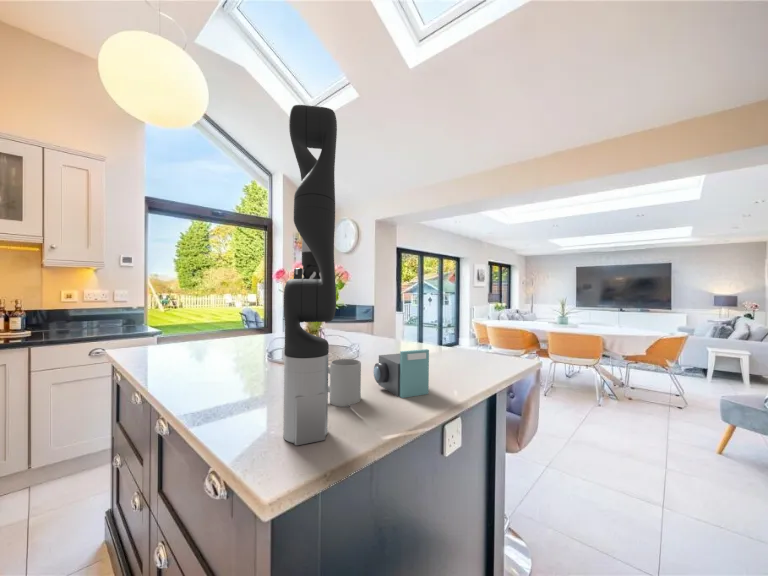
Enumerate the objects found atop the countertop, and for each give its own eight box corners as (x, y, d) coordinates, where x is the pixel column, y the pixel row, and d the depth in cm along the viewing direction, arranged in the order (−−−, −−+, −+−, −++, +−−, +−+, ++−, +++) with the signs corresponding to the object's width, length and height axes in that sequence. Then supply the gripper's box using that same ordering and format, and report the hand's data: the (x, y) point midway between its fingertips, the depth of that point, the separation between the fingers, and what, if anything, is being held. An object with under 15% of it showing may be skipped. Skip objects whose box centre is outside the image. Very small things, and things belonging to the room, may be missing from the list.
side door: (429, 394, 97) (430, 350, 97) (403, 398, 93) (403, 352, 93) (426, 392, 98) (426, 349, 98) (399, 396, 94) (400, 351, 94)
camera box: (427, 394, 99) (427, 358, 99) (388, 400, 93) (389, 361, 93) (405, 382, 111) (405, 350, 111) (370, 387, 105) (370, 353, 105)
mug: (361, 396, 96) (362, 359, 96) (359, 407, 87) (359, 365, 87) (320, 396, 96) (321, 358, 96) (314, 406, 87) (314, 365, 87)
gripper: (304, 248, 100) (303, 302, 100) (337, 253, 112) (336, 301, 111) (288, 250, 104) (287, 301, 104) (321, 254, 116) (320, 300, 116)
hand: (312, 301), depth 108 cm, fingers open, 8 cm apart
